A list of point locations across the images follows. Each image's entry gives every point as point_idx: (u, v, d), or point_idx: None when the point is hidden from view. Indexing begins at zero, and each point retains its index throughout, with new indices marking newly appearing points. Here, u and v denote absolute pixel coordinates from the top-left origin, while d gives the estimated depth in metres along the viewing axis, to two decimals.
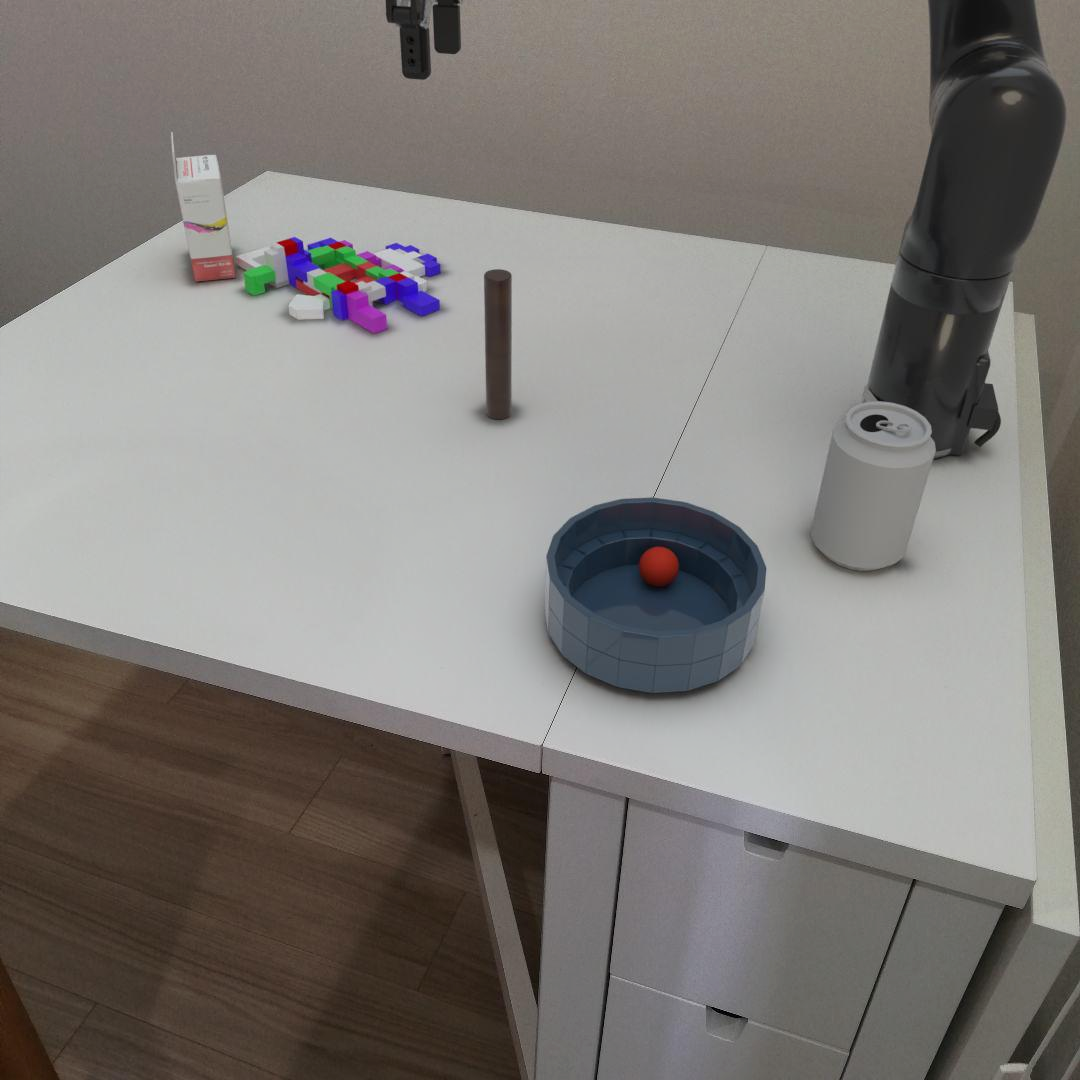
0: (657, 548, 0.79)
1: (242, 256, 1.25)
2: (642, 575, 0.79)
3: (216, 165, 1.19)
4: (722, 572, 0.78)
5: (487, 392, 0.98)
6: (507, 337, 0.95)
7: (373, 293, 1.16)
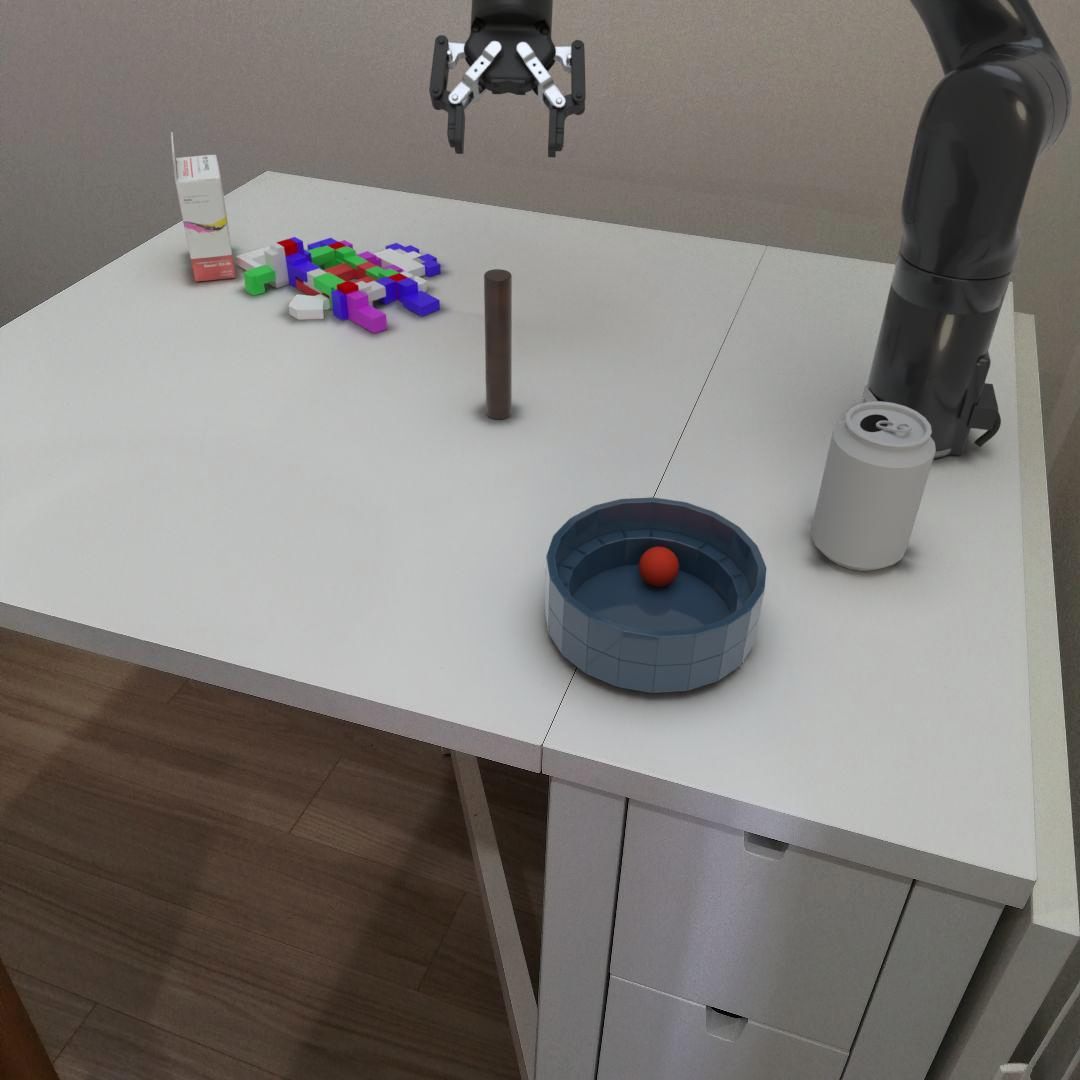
0: (657, 548, 0.79)
1: (242, 256, 1.25)
2: (642, 575, 0.79)
3: (216, 165, 1.19)
4: (722, 572, 0.78)
5: (487, 392, 0.98)
6: (507, 337, 0.95)
7: (373, 293, 1.16)
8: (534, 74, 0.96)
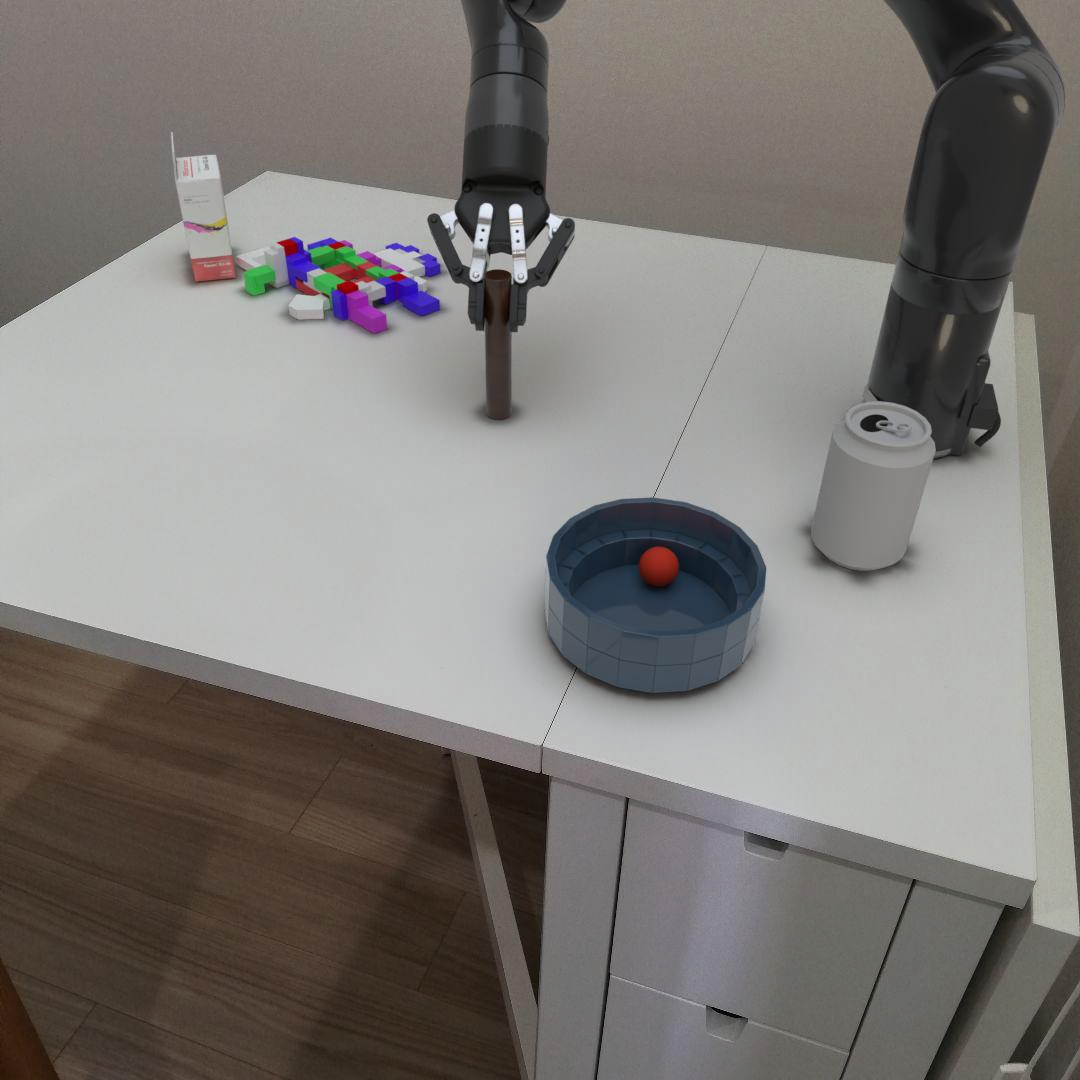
0: (657, 548, 0.79)
1: (242, 256, 1.25)
2: (642, 575, 0.79)
3: (216, 165, 1.19)
4: (722, 572, 0.78)
5: (487, 392, 0.98)
6: (507, 337, 0.95)
7: (373, 293, 1.16)
8: (511, 240, 0.92)
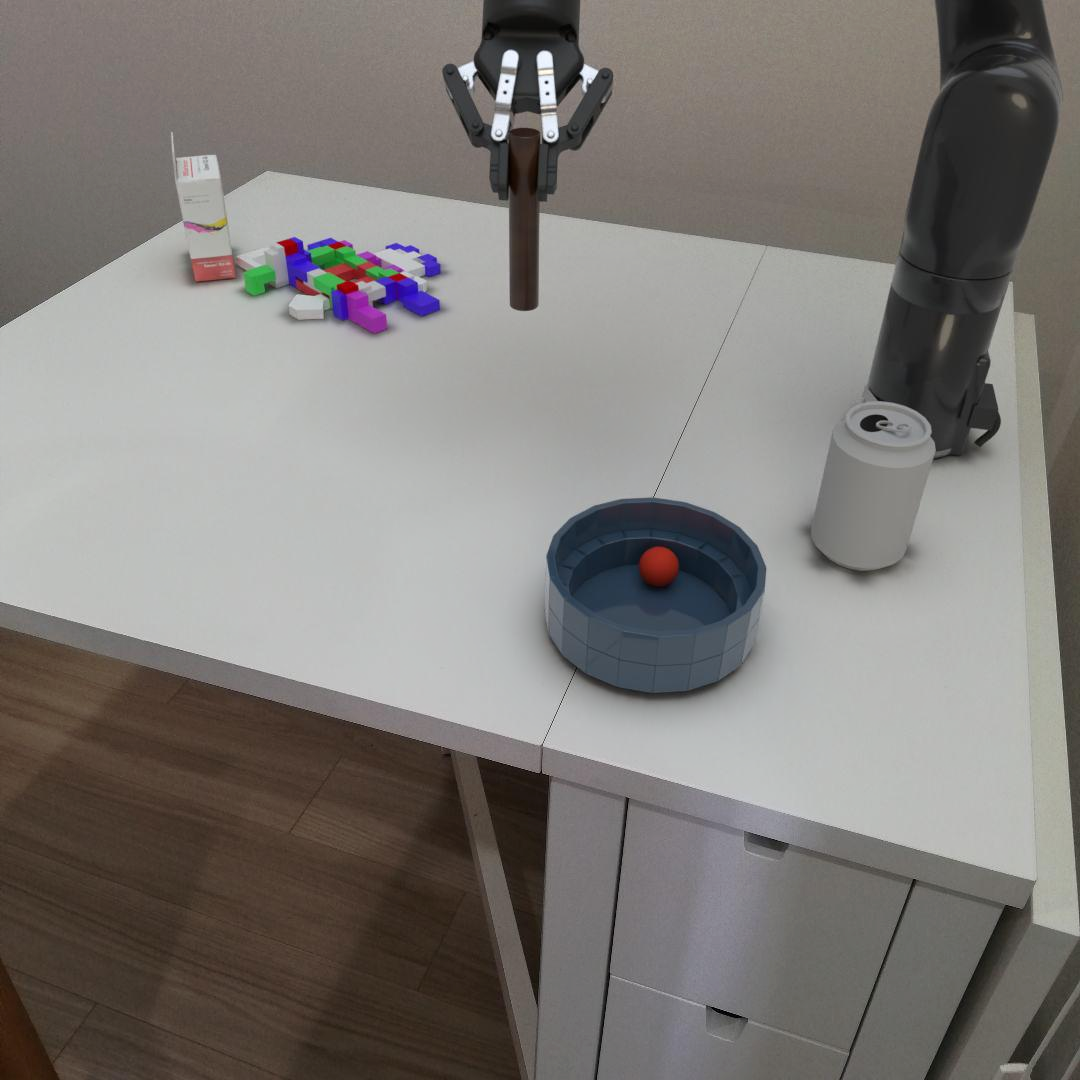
0: (657, 548, 0.79)
1: (242, 256, 1.25)
2: (642, 575, 0.79)
3: (216, 165, 1.19)
4: (722, 572, 0.78)
5: (511, 278, 0.86)
6: (535, 210, 0.82)
7: (373, 293, 1.16)
8: (540, 92, 0.79)
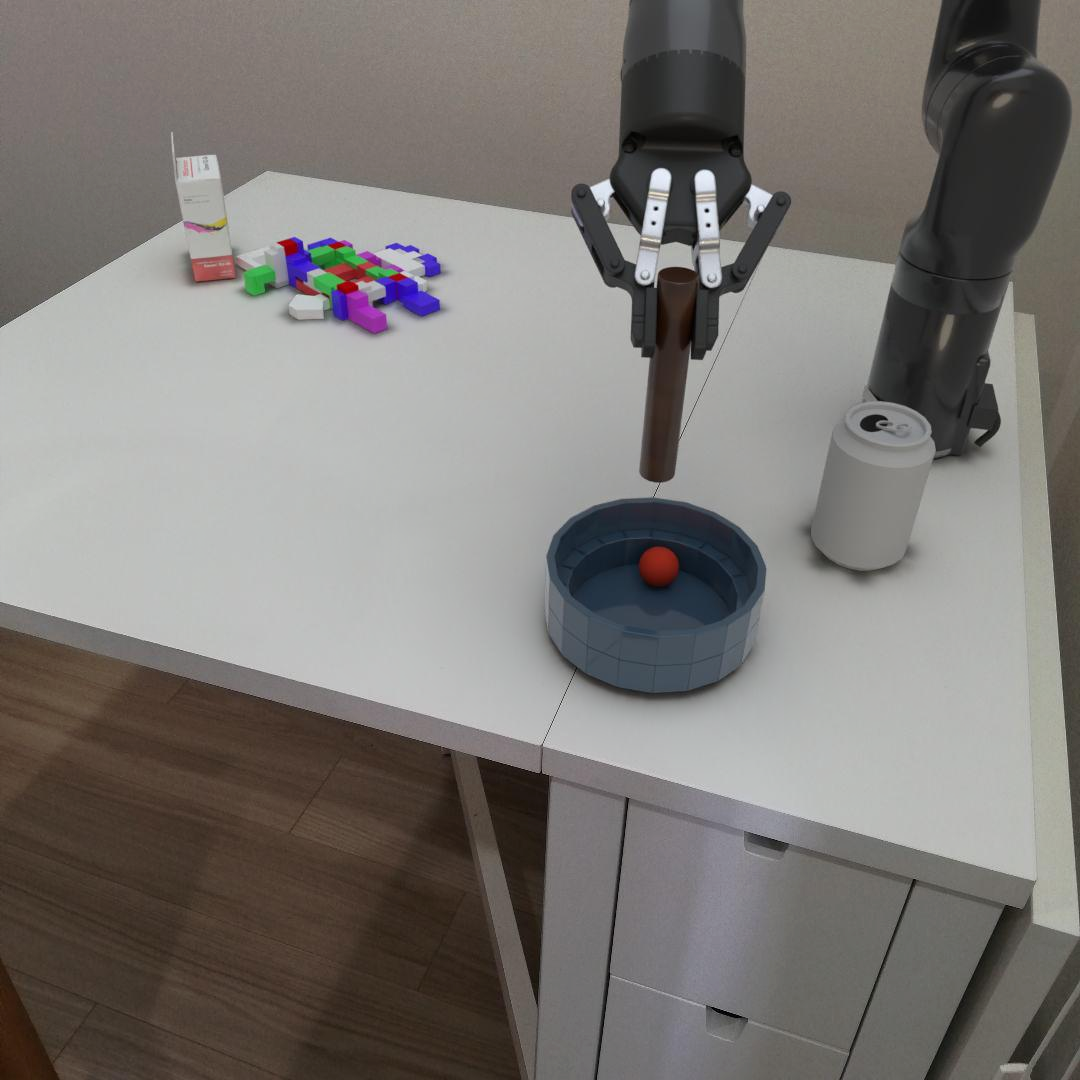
0: (657, 548, 0.79)
1: (242, 256, 1.25)
2: (642, 575, 0.79)
3: (216, 165, 1.19)
4: (722, 572, 0.78)
5: (645, 444, 0.68)
6: (684, 367, 0.64)
7: (373, 293, 1.16)
8: (699, 223, 0.62)
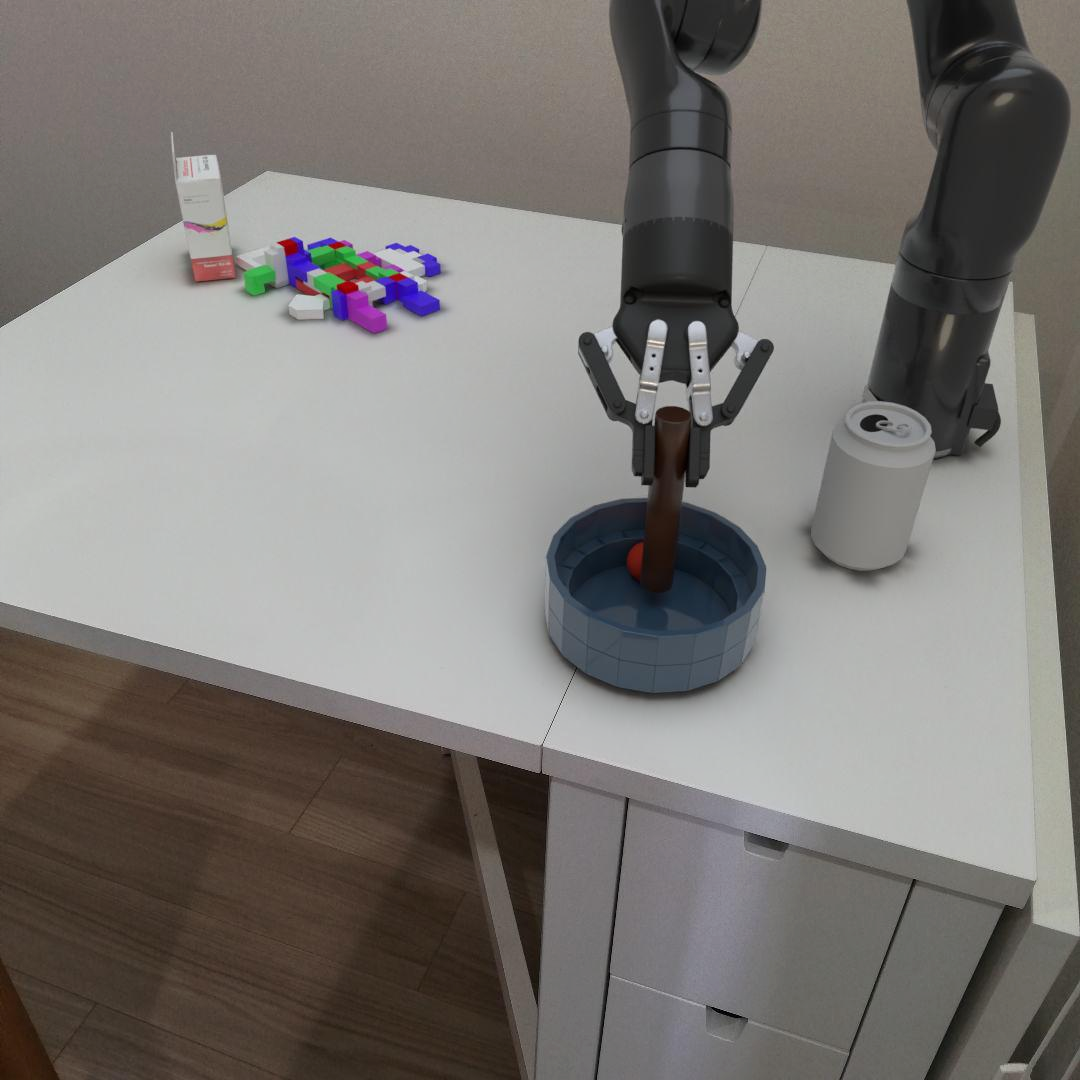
0: None
1: (242, 256, 1.25)
2: (627, 565, 0.80)
3: (216, 165, 1.19)
4: (722, 572, 0.78)
5: (645, 559, 0.76)
6: (680, 493, 0.72)
7: (373, 293, 1.16)
8: (692, 369, 0.70)
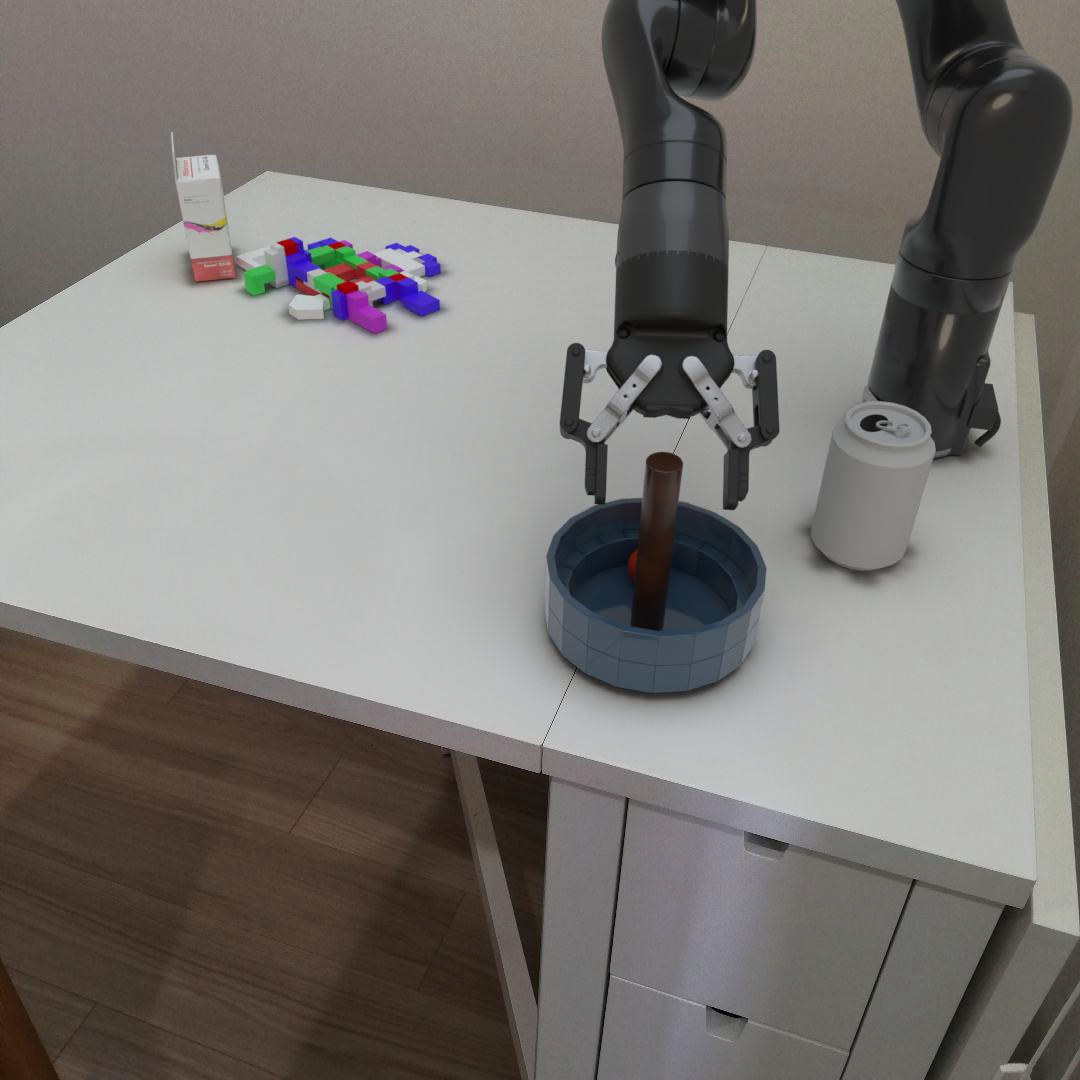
0: None
1: (242, 256, 1.25)
2: (628, 569, 0.79)
3: (216, 165, 1.19)
4: (722, 572, 0.78)
5: (636, 600, 0.74)
6: (671, 538, 0.71)
7: (373, 293, 1.16)
8: (708, 402, 0.68)
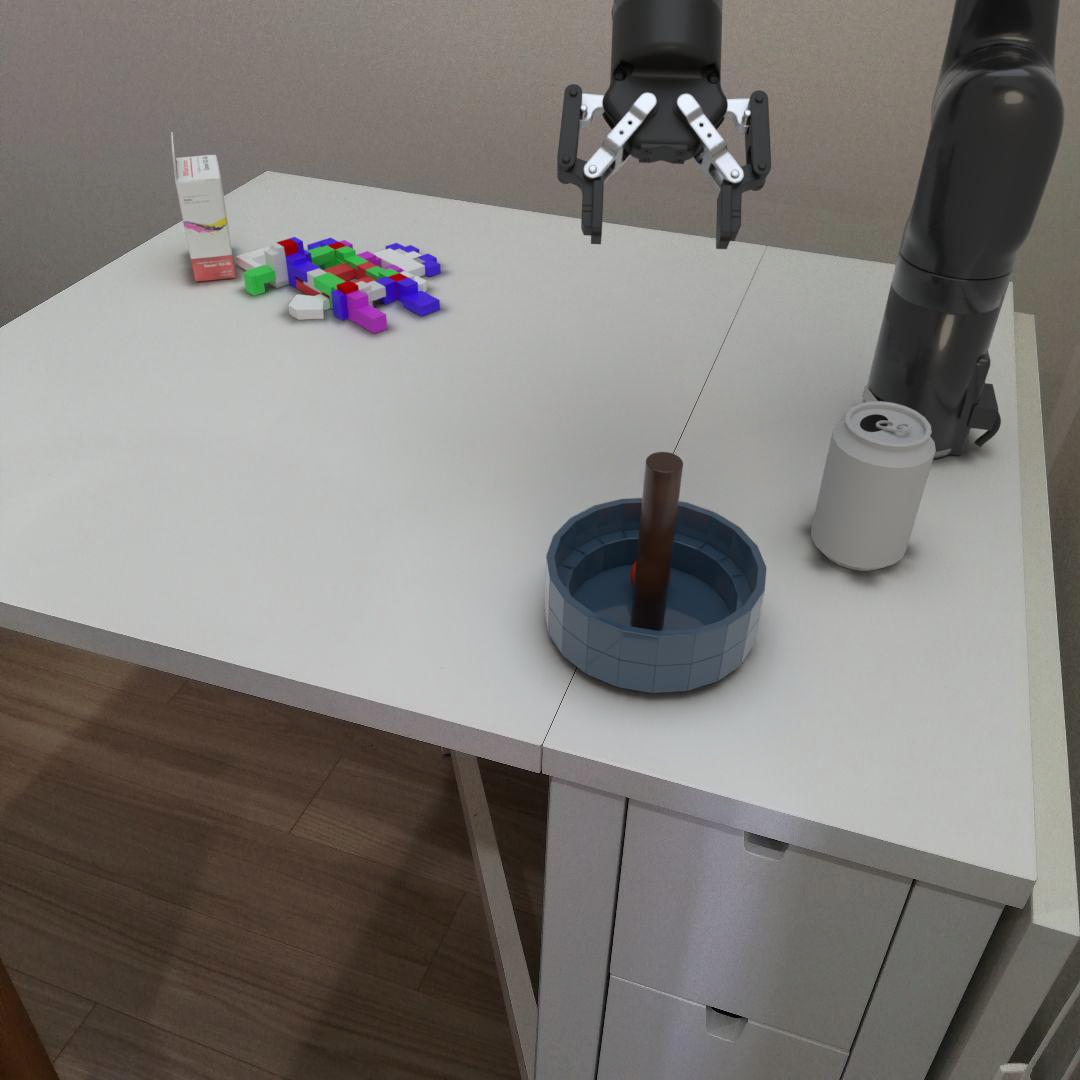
0: None
1: (242, 256, 1.25)
2: (630, 577, 0.79)
3: (216, 165, 1.19)
4: (722, 572, 0.78)
5: (636, 600, 0.74)
6: (671, 538, 0.71)
7: (373, 293, 1.16)
8: (701, 138, 0.70)
